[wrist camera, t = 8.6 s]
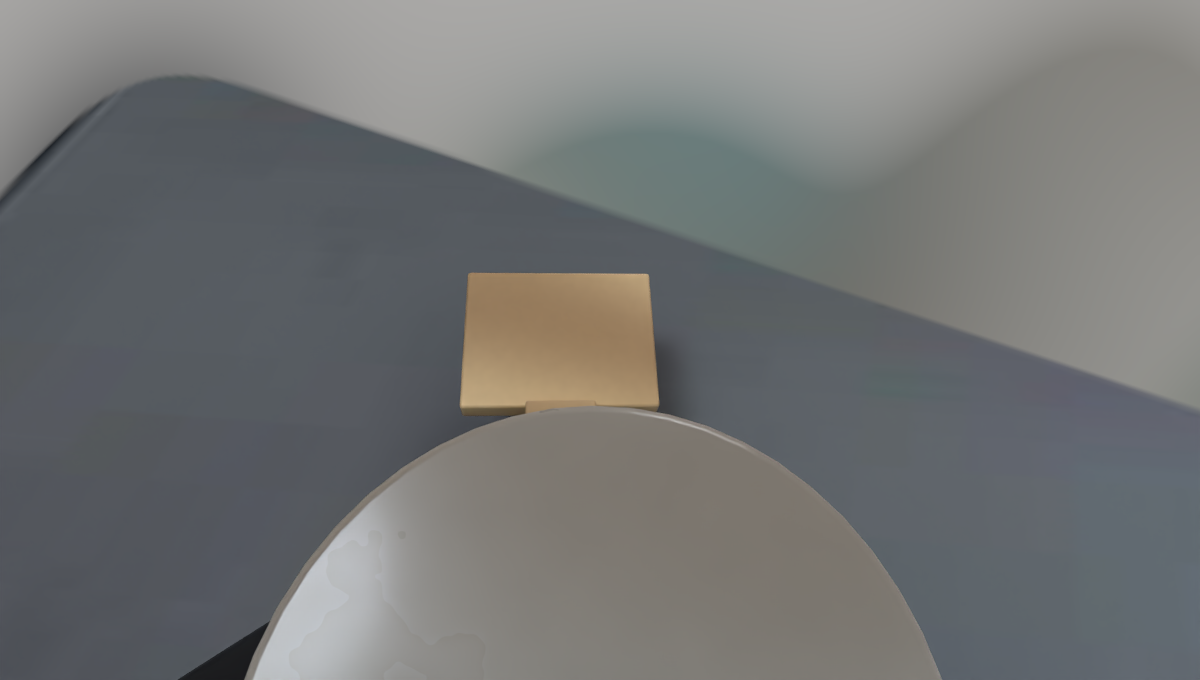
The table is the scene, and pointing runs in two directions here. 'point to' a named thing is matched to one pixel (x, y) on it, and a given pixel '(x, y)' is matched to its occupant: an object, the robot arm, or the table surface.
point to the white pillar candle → (587, 531)
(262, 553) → the table surface
